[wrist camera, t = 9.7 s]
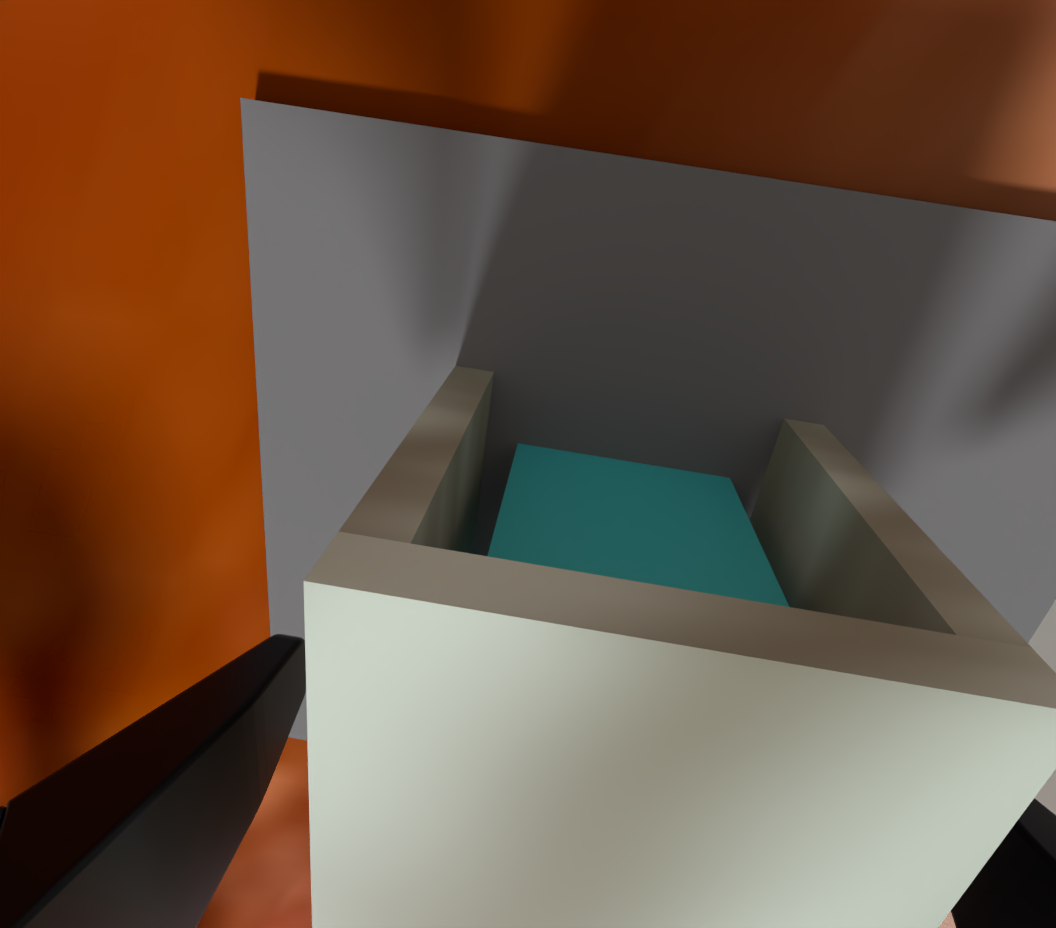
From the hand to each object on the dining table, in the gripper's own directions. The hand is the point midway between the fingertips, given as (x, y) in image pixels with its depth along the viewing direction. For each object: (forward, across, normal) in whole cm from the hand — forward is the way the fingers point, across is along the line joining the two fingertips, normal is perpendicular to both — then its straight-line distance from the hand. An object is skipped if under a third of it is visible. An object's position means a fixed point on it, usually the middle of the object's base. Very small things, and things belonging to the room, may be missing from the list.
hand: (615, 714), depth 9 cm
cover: (+4, 0, 0) cm, 4 cm away
